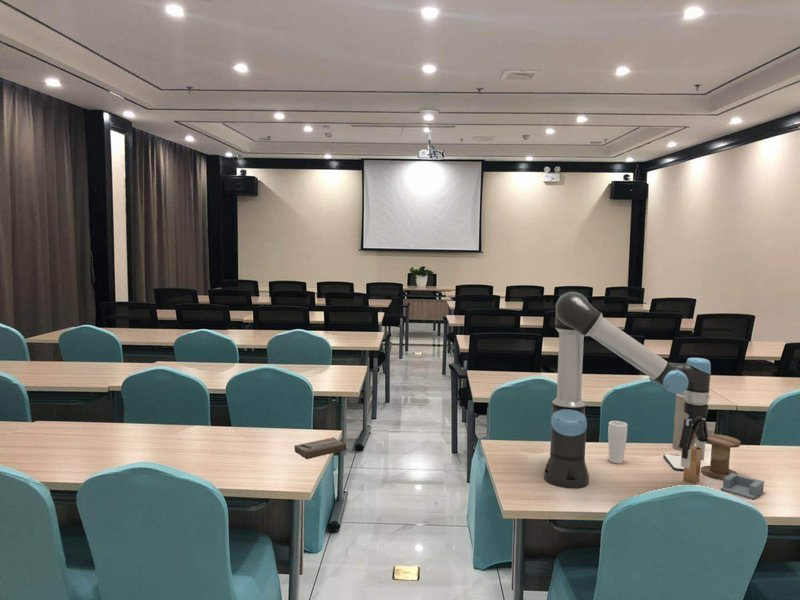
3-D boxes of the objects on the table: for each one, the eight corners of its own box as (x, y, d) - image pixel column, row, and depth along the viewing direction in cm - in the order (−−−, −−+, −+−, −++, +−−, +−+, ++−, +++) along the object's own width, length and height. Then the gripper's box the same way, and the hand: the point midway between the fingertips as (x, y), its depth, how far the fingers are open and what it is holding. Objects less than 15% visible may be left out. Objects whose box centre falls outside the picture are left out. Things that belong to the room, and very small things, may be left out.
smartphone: (699, 474, 220) (685, 459, 236) (699, 470, 220) (686, 455, 236) (673, 472, 222) (662, 457, 237) (673, 468, 222) (662, 453, 237)
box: (347, 451, 232) (346, 443, 232) (306, 460, 222) (306, 452, 222) (333, 444, 241) (333, 436, 241) (293, 452, 231) (293, 444, 231)
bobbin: (731, 483, 210) (733, 446, 209) (695, 473, 219) (697, 438, 218) (742, 475, 219) (745, 439, 218) (707, 466, 227) (710, 432, 226)
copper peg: (694, 484, 209) (697, 450, 208) (683, 480, 212) (685, 447, 211) (699, 481, 211) (701, 448, 210) (687, 478, 214) (689, 445, 213)
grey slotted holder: (753, 499, 196) (754, 488, 196) (720, 490, 203) (721, 479, 203) (763, 492, 203) (763, 481, 203) (731, 483, 210) (731, 472, 210)
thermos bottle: (698, 451, 246) (702, 383, 244) (682, 452, 243) (686, 384, 241) (684, 444, 253) (688, 379, 251) (668, 446, 251) (672, 379, 249)
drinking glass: (626, 465, 226) (629, 426, 225) (607, 463, 227) (610, 424, 226) (623, 459, 232) (626, 421, 231) (605, 458, 234) (607, 420, 233)
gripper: (693, 410, 198) (689, 474, 200) (720, 399, 215) (716, 458, 217) (670, 405, 204) (667, 467, 205) (698, 395, 220) (694, 453, 222)
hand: (692, 463), depth 211 cm, fingers open, 12 cm apart
